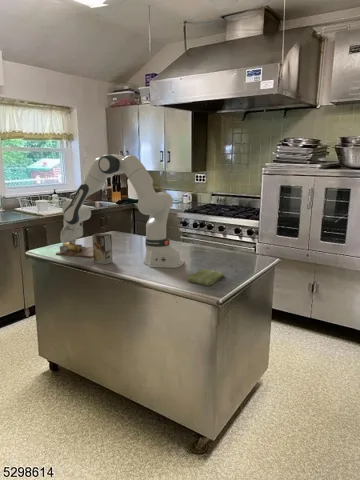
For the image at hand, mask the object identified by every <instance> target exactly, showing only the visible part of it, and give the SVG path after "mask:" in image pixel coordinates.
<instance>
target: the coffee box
mask: <svg viewBox="0 0 360 480" xmlns="http://www.w3.org/2000/svg"><path fill="white" fill-rule="evenodd" d="M91 236H92V248H93V255H94V257H93V263H96V264H101V265H108V264H111V263H113V262H114V261H113V243H112V240H113V239H112V233H111V234H110V233H104V232H95V233H94V234H92V235H91Z"/></svg>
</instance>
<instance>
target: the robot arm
mask: <svg viewBox="0 0 360 480" xmlns="http://www.w3.org/2000/svg"><path fill="white" fill-rule="evenodd" d="M91 163H92V164H91V165H90V167H89V169H88V171H87V174H86V176H85V177H84V179H83V182H81V184H80V185H79V187H78V188H77V190H76V191H75V193H74V196H73V197H72V199H65V200H64V201H62V207H61V208H62V216H63V227H62V229H61V231H60V234H59V235H60V239H59V240H60V242H61V244H63V243H67V242H68V243H73V244H76V241H77V239H79V238H81V237H83V235H84V228H83V223H84V221H87V220H89V219H91V216H92V210H91V208H90V206H88V205H86V204H84V202H85V201H86V199H87V198H88V197H90V196H91V195H93V194H95V193H96V192H99V191H100V190H102V188H103V187H104V186H105V183H106V181H107V179H108V177H109V175H117V176H118V175H124V174H125V175H126V178H127V179H128V181H129V182H130V184H131V185H132V188H133V189H134V190H135V192H136V196H137V200H138V201H137V209H138V211H139V212H140V213H141V214H143V215H145V216H149V218H148V220H147V222H146V223H145V232H146V234H145V243H144V244H145V257H144V260H143V264H145V265H146V266H148V267H150V268H172V269H175V268H176V269H177V268H180V267H182V266H183V264H184V263H185V262H184V259H182V258H181V257H180V251H178V250H177V249H176V248H175V247H173V246H172V245H171V243H170V242H171V238H168V237H167V224H168V223H167V222H168V218H169V213H170V210H171V208H172V206H173V203H174V201H173V197H172V196H171V194H170V193H168V192H165V191H164V192H163V191H161V192H160V191H159V192H156V190H155V189H154V185H153V184H154V179H153V178H152V176H151V174H150V173H149V172H148V170H147V169H146V167H145V165H144V164H143V163H142V161H141V160H140V159H139V158H138V157H137V156H136V155H134V154H129V155H124V154H116V153H112V154H104V155H102V156H101V157H96V158H95V159H94V161H92V162H91Z"/></svg>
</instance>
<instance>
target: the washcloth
mask: <svg viewBox="0 0 360 480" xmlns="http://www.w3.org/2000/svg"><path fill="white" fill-rule="evenodd" d="M224 276H225V274H224V273H222V272H219V271H216V270H213V269H211V270H209V269H207V268H202V269H199V270H198V271H196V272H195V273H192V274H191V275H189V277H188V278H187V281H188V282H189V283H193V284H199V285H202V286H205V287H210V286H212V285H214V284H215V283H216V282H217V281H219V280H220V279H221V278H222V277H224Z"/></svg>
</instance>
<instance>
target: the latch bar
mask: <svg viewBox="0 0 360 480" xmlns="http://www.w3.org/2000/svg"><path fill="white" fill-rule="evenodd" d="M62 245H64V246H68V249H69V250H74V251H78V252H82V247H83V245H82V244H79V243H75V244H73V243H69V242H67V243H62Z"/></svg>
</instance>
